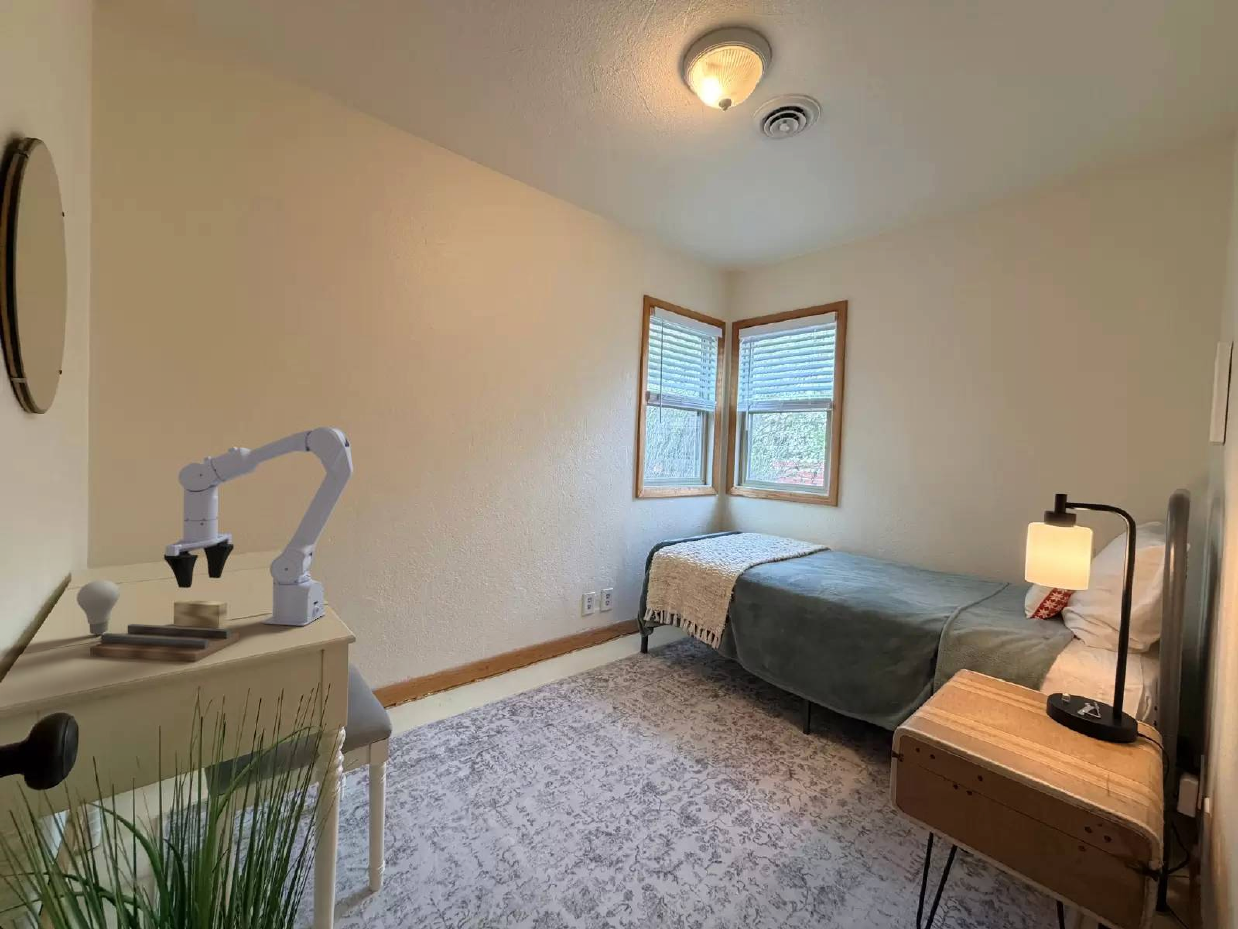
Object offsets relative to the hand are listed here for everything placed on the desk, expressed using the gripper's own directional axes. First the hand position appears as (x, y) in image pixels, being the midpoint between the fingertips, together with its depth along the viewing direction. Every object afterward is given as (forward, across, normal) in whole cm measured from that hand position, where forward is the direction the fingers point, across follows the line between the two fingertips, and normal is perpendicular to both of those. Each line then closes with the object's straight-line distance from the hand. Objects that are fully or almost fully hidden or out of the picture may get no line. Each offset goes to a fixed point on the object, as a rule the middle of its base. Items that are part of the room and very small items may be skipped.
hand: (200, 582), depth 111 cm
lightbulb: (+9, +8, -14) cm, 19 cm away
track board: (+9, +12, +4) cm, 16 cm away
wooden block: (+9, 0, 0) cm, 9 cm away
